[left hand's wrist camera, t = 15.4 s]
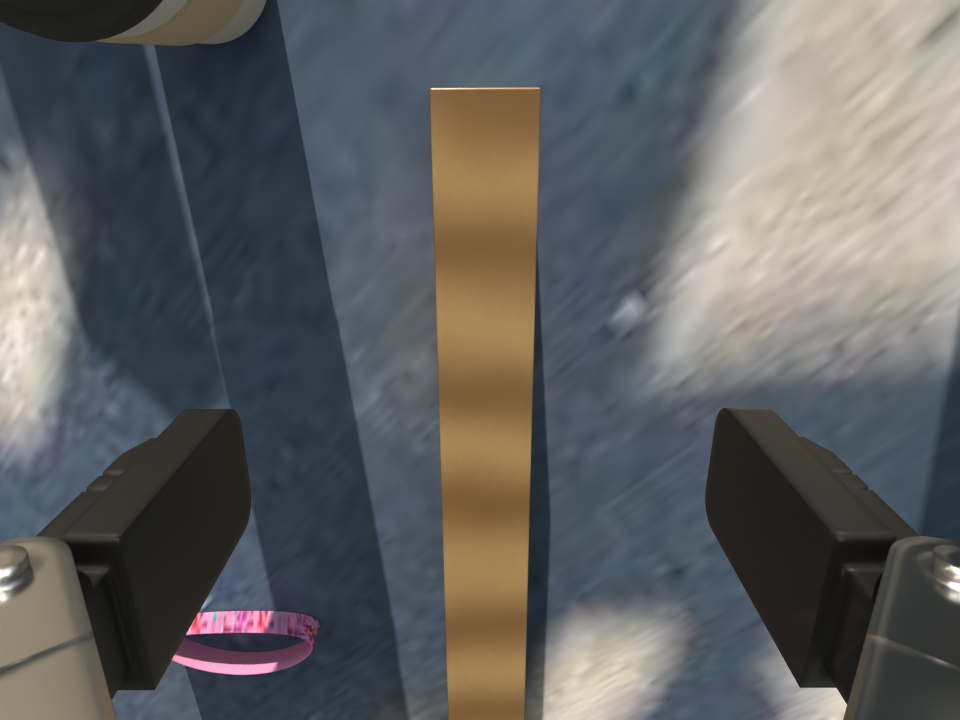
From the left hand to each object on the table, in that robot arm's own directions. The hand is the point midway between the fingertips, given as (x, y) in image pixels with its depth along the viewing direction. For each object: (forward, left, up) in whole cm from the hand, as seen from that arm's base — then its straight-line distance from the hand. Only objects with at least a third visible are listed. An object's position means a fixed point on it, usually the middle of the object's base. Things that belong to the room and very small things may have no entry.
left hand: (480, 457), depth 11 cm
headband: (+7, +34, -28) cm, 44 cm away
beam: (-8, +22, -28) cm, 36 cm away
